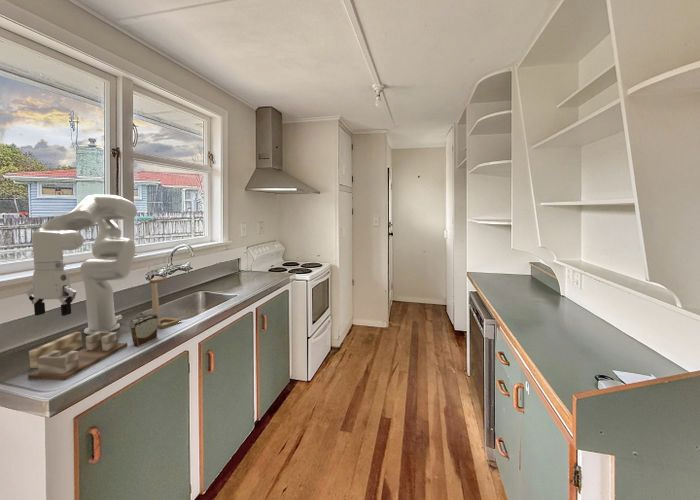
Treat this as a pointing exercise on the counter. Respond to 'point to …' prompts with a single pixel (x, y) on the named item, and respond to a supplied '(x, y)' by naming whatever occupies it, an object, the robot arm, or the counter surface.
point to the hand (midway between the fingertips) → (53, 314)
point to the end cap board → (83, 362)
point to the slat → (56, 347)
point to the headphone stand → (156, 306)
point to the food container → (143, 328)
